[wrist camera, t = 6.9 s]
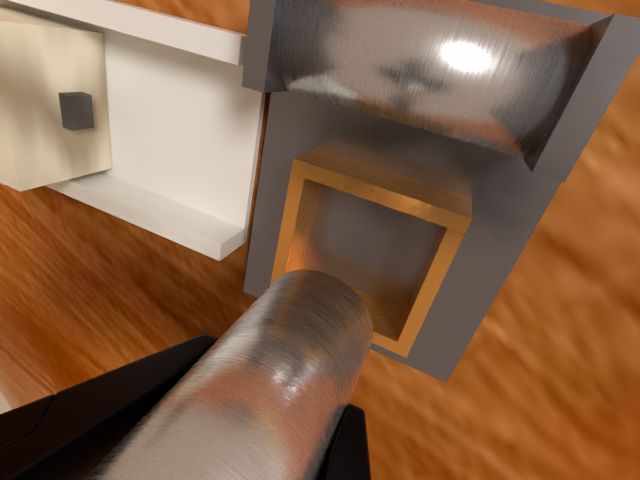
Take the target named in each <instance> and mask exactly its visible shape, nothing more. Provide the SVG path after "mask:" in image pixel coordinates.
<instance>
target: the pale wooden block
mask: <svg viewBox="0 0 640 480" xmlns="http://www.w3.org/2000/svg"><path fill="white" fill-rule="evenodd" d="M108 169H112V162H111V147H110V132H109V117H108V102H107V87H106V72H105V57H104V42H103V33H101V32H97V31H94V30H90V29H87V28H83V27H80V26H76V25H73V24H69V23H66V22H62V21H59V20H55V19H52V18H49V17H45V16H42V15H38V14H35V13H31V12H28V11H24V10H21V9H17V8H14V7H10V6H7V5H3V4H0V183H2V184H4V185H7V186H9V187H11V188H13V189H16V190H18V191H20V192H21V191H25V190H29V189H33V188H36V187H40V186H44V185H48V184H52V183H56V182H60V181H64V180H68V179H72V178H76V177H80V176H84V175H88V174H92V173H96V172H100V171H104V170H108Z"/></svg>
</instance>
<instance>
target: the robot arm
mask: <svg viewBox="0 0 640 480" xmlns="http://www.w3.org/2000/svg"><path fill="white" fill-rule="evenodd" d="M217 340H218V338H216V337H214V336H212V335H210V334H202V335H200V336H197V337H195V338H192V339H190V340H187V341H185V342H182V343H180V344H177V345H175V346H172V347H170V348H167V349H165V350H162V351H160V352H157V353H155V354H152V355H150V356H147V357H145V358H142V359H140V360H137V361H135V362H132V363H130V364H127V365H125V366H122V367H120V368H117V369H115V370H112V371H110V372H107V373H105V374H102V375H100V376H97V377H95V378H92V379H90V380H87V381H85V382H82V383H80V384H77V385H75V386H72V387H70V388H67V389H65V390H62V391H60V392H57V393H56V395H55V394H52V395H49V396H47V397H44V398H42V399H39V400H37V401H34V402H32V403H29V404H26V405H24V406H21V407H19V408H16V409H13V410H11V411H8V412H5V413H3V414H0V480H83V479H84V478H85V477H86V476H87V475H88V474H89V473H90V472H91V471H92V470H93V469H94V468H95V467H96V466H97V465H98V464H99V462H100V461H101V460H102V459H103V458H104V457H105V456H106V455H107V454H108V453H109V452H110V451H111V450H112V449H113V448H114V447H115V446H116V445H117V444H118V443H119V442H120V441H121V440H122V439H123V438H124V437H125V436H126V435H127V434H128V432H129V431H130V430H131V429H132V428H133V427H134V426H135V425H136V424H137V423H138V422H139V421H140V420H141V419H142V418H143V417H144V416H145V415H146V414H147V413H148V412H149V411H150V410H151V409H152V408H153V407H154V406H155V405H156V404H157V402H158V401H159V400H160V399H161V398H162V397H163V396H164V395H165V394H166V393H167V392H168V391H169V390H170V389H171V388H172V387H173V386H174V385H175V384H176V383H177V382H178V381H179V380H180V379H181V378H182V377H183V376H184V375H185V374H186V373H187V371H188V370H189V369H190V368H191V367H192V366H193V365H194V364H195V363H196V362H197V361H198V360H199V359H200V358H201V357H202V356H203V355H204V354H205V353H206V352H207V351H208V350H209V349H210V348H211V347H212V346H213V345H214V344H215V343H216V341H217ZM321 480H371V472H370V461H369V451H368V441H367V430H366V420H365V412H364V410H363V409H361V408H359V407H357V406H355V405H353V404H348V405H347V408H346V410H345V413H344V416H343V418H342V421H341V424H340V426H339V429H338V432H337V434H336V437H335V440H334V442H333V445H332V448H331V450H330V453H329V456H328V459H327V462H326V465H325V468H324V471H323V474H322V477H321Z"/></svg>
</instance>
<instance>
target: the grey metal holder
mask: <svg viewBox="0 0 640 480" xmlns="http://www.w3.org/2000/svg"><path fill="white" fill-rule="evenodd" d="M639 52H640V18H636V17H631V16H626V15H620V14H613V15H609V14H604V13H598V12H593V11H588V10H583V9H578V8H572V7H567V6H562V5H557V4H552V3H547V2H541V1H536V0H250V9H249V18H248V28H247V38H246V48H245V57H244V67H243V77H242V87H245V88H248V89H252V90H255V91H258V92H262V93H271V98H270V105H269V112H268V119H267V126H266V133H265V140H264V147H263V154H262V162H261V169H260V176H259V183H258V190H257V197H256V204H255V211H254V218H253V225H252V232H251V240H250V247H249V254H248V261H247V268H246V275H245V282H244V289H243V292H245V293H247V294H249V295H251V296H254V297H256V298H259V297H260V296H261V295H262V294H263V293H264V292H265V291H266V290H267V289H268V288H269V287H270V286H271V285H272V284H273V283H274V281H275V280H276V279H278V278H279V277H280V276H282V275H284V274H286V273H288V272H291V271H294V270H300V269H309V270H317V271H321V272H324V273H327V274H330V275H332V276H334V277H336V278H338V279H340V280H341V281H343V282H345V283H346V284H347V285H348V286H350V287H351V288H352V289H353V290H354V291H355V292H356V293H357V294H358V295H359V296H360V298H361V299H362V300H363V302H364V303H365V305H366V307H367V309H368V311H369V313H370V316H371V319H372V323H373V339H372V343H371V346H370V349H372V350H375V351H377V352H379V353H381V354H384V355H386V356H388V357H390V358H393V359H395V360H397V361H399V362H402V363H404V364H406V365H408V366H411V367H413V368H415V369H417V370H420V371H422V372H424V373H426V374H429V375H431V376H433V377H435V378H438V379H440V380H442V381H444V382H447V381H448V379H449V377H450V376H451V374H452V372H453V370H454V369H455V367H456V365H457V363H458V362H459V360H460V358H461V356H462V355H463V353H464V351H465V349H466V348H467V346H468V344H469V342H470V341H471V339H472V337H473V335H474V334H475V332H476V330H477V328H478V327H479V325H480V323H481V322H482V320H483V318H484V316H485V315H486V313H487V311H488V309H489V308H490V306H491V304H492V302H493V301H494V299H495V297H496V295H497V294H498V292H499V290H500V288H501V287H502V285H503V283H504V281H505V280H506V278H507V276H508V274H509V273H510V271H511V269H512V267H513V266H514V264H515V262H516V260H517V259H518V257H519V255H520V253H521V252H522V250H523V248H524V246H525V245H526V243H527V241H528V240H529V238H530V236H531V234H532V233H533V231H534V229H535V227H536V226H537V224H538V222H539V220H540V219H541V217H542V215H543V213H544V212H545V210H546V208H547V206H548V205H549V203H550V201H551V199H552V198H553V196H554V194H555V192H556V191H557V189H558V187H559V185H560V184H561V182H565V180H566V179H567V177H568V175H569V173H570V172H571V170H572V168H573V167H574V165H575V163H576V161H577V160H578V158H579V156H580V154H581V153H582V151H583V149H584V147H585V146H586V144H587V142H588V141H589V139H590V137H591V135H592V134H593V132H594V130H595V128H596V127H597V125H598V123H599V121H600V120H601V118H602V116H603V115H604V113H605V111H606V109H607V108H608V106H609V104H610V102H611V101H612V99H613V97H614V96H615V94H616V92H617V90H618V89H619V87H620V85H621V83H622V82H623V80H624V78H625V76H626V75H627V73H628V71H629V70H630V68H631V66H632V64H633V63H634V61H635V59H636V57H637V56H638V54H639Z"/></svg>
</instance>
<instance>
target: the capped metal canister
mask: <svg viewBox="0 0 640 480" xmlns="http://www.w3.org/2000/svg"><path fill="white" fill-rule="evenodd" d="M372 339H373V323H372V319H371V316H370V313H369V311H368V309H367V307H366V305H365V303H364V302H363V300H362V299H361V298H360V296H359V295H358V294H357V293H356V292H355V291H354V290H353V289H352V288H351V287H350V286H348V285H347V284H346V283H345V282H343V281H341V280H340V279H338V278H336V277H334V276H332V275H330V274H327V273H324V272H321V271H317V270H309V269H300V270H294V271H291V272H288V273H286V274H284V275H282V276H280V277H279V278H278V279H276V280H275V281H274V283H273V284H272V285H271V286H270V287H269V288H268V289H267V290H266V291H265V292H264V293H263V294H262V295H261V296H260V297H259V298H258V299H257V300H256V301H255V302H254V303H253V304H252V305H251V306H250V307H249V308H248V309H247V310H246V311H245V313H244V314H243V315H242V316H241V317H240V318H239V319H238V320H237V321H236V322H235V323H234V324H233V325H232V326H231V327H230V328H229V329H228V330H227V331H226V332H225V333H224V334H223V335H222V336H221V337H220V338H219V339H218V340H217V341H216V343H215V344H214V345H213V346H212V347H211V348H210V349H209V350H208V351H207V352H206V353H205V354H204V355H203V356H202V357H201V358H200V359H199V360H198V361H197V362H196V363H195V364H194V365H193V366H192V367H191V368H190V369H189V370H188V371H187V373H186V374H185V375H184V376H183V377H182V378H181V379H180V380H179V381H178V382H177V383H176V384H175V385H174V386H173V387H172V388H171V389H170V390H169V391H168V392H167V393H166V394H165V395H164V396H163V397H162V398H161V399H160V400H159V401H158V402H157V404H156V405H155V406H154V407H153V408H152V409H151V410H150V411H149V412H148V413H147V414H146V415H145V416H144V417H143V418H142V419H141V420H140V421H139V422H138V423H137V424H136V425H135V426H134V427H133V428H132V429H131V430H130V431H129V432H128V434H127V435H126V436H125V437H124V438H123V439H122V440H121V441H120V442H119V443H118V444H117V445H116V446H115V447H114V448H113V449H112V450H111V451H110V452H109V453H108V454H107V455H106V456H105V457H104V458H103V459H102V460H101V461H100V462H99V464H98V465H97V466H96V467H95V468H94V469H93V470H92V471H91V472H90V473H89V474H88V475H87V476H86V477H85V478H84V479H83V480H321V477H322V474H323V471H324V468H325V465H326V462H327V459H328V456H329V453H330V450H331V448H332V445H333V442H334V440H335V437H336V434H337V432H338V429H339V426H340V424H341V421H342V418H343V416H344V413H345V410H346V408H347V405H348V404H349V402H350V399H351V397H352V394H353V391H354V389H355V386H356V383H357V381H358V378H359V375H360V373H361V370H362V367H363V365H364V362H365V359H366V357H367V354H368V351H369V349H370V346H371V343H372Z"/></svg>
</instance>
